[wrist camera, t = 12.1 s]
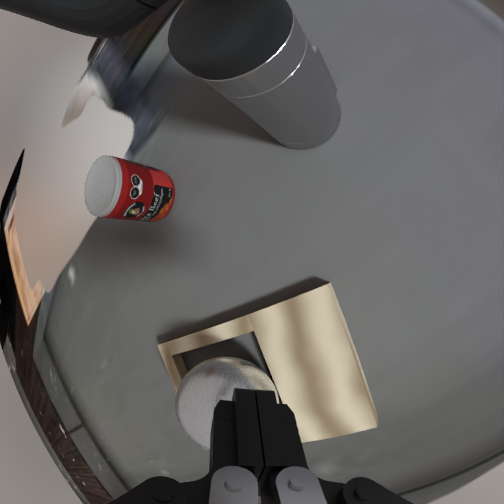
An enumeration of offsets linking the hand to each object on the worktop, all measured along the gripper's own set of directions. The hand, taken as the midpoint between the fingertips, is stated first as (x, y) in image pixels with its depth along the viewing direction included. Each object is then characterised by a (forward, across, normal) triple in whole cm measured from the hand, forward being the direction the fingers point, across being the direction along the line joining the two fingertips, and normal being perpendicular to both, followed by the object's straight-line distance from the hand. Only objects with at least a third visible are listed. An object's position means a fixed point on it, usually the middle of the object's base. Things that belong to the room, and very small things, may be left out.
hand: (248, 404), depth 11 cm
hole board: (+21, -6, +17) cm, 28 cm away
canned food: (+37, +12, -2) cm, 39 cm away
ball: (+17, -2, +18) cm, 24 cm away
